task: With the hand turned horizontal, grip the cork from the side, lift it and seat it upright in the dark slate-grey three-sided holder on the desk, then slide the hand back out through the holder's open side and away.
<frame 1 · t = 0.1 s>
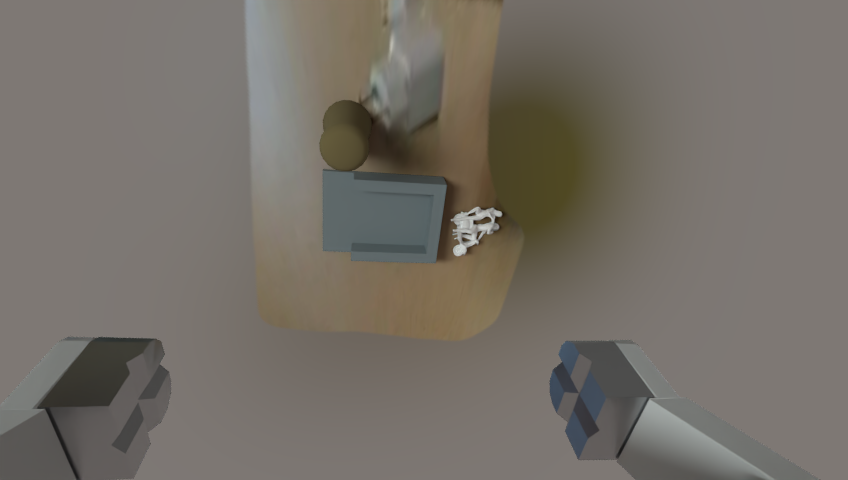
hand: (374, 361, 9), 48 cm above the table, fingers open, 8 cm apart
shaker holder: (395, 214, 60), on the table
cork: (347, 124, 54), on the table
figurine: (473, 224, 63), on the table
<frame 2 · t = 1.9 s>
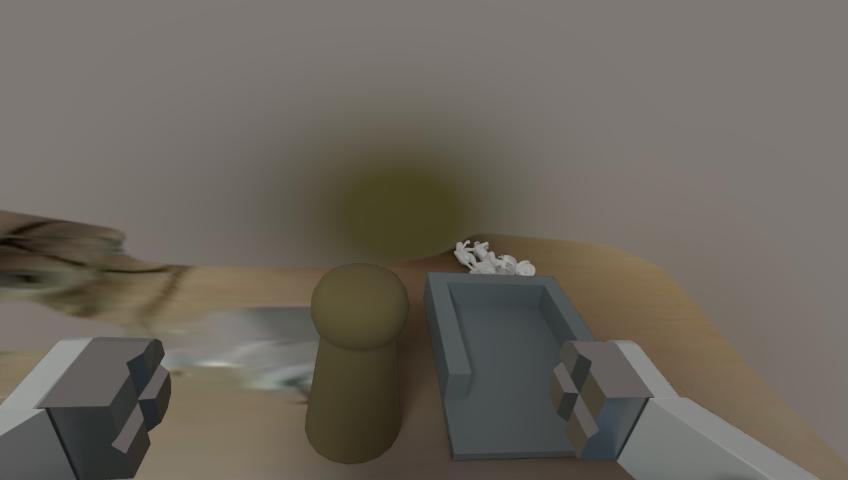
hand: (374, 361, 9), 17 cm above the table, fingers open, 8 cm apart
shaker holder: (503, 345, 35), on the table
cork: (353, 421, 28), on the table
figurine: (486, 271, 46), on the table
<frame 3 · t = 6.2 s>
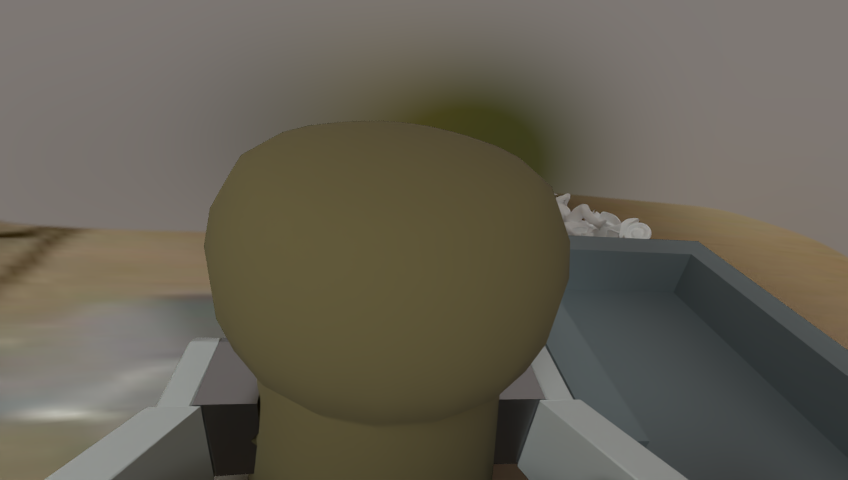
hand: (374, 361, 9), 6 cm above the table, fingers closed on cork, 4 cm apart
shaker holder: (639, 361, 19), on the table
figurine: (568, 237, 31), on the table
when the fingers open (7 cm above the table, at t = 11.5 s): cork stays where it is, resting on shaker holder.
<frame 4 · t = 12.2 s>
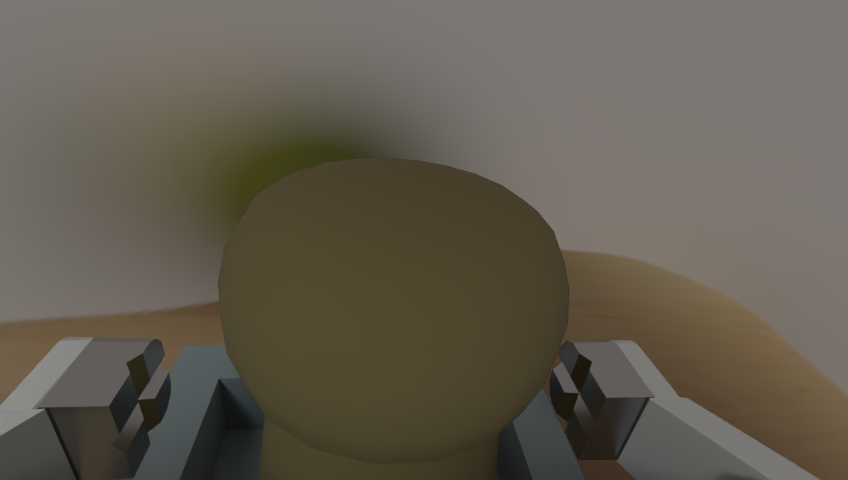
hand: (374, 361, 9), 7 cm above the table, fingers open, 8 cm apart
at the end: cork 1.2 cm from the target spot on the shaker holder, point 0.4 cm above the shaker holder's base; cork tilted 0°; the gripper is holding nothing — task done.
